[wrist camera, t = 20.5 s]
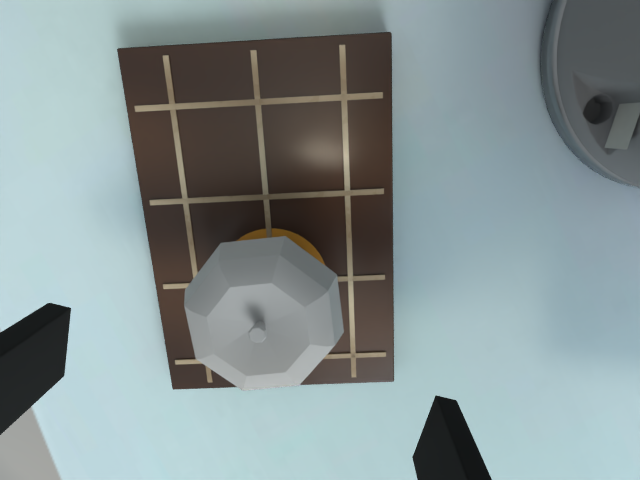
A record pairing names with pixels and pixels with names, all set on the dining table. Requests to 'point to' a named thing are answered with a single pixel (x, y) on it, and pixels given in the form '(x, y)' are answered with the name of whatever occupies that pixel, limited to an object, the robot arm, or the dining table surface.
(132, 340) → the dining table surface
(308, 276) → the apple
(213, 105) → the board
